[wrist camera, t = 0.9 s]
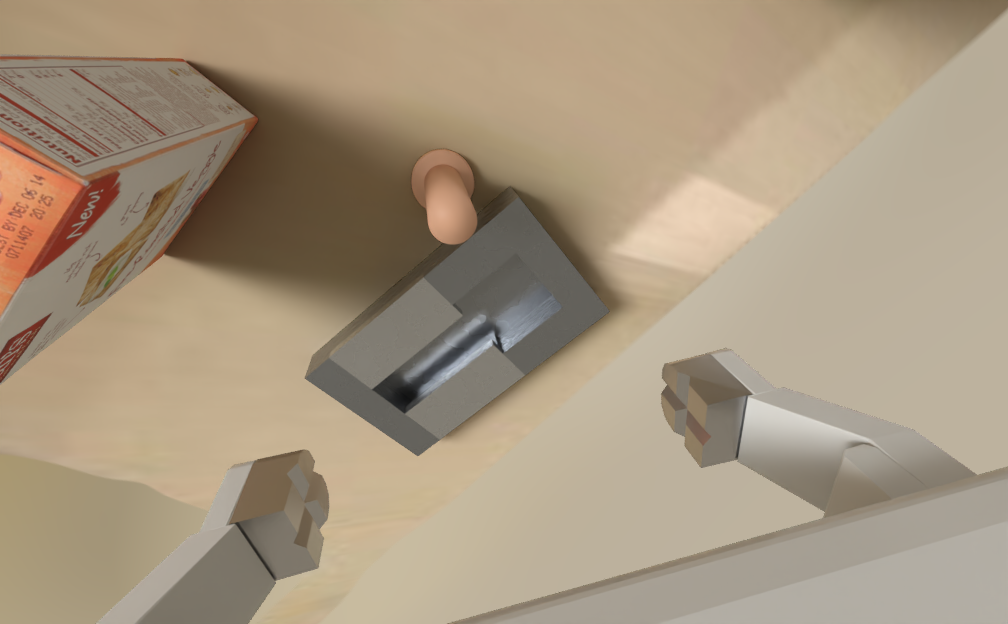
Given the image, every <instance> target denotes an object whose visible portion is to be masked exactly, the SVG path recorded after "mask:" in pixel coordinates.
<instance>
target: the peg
mask: <svg viewBox="0 0 1008 624" xmlns="http://www.w3.org/2000/svg"><path fill="white" fill-rule="evenodd" d="M411 184H412V190H413V193H414V196H415V198H416V199H417V201H418V202H419V203H420V204H421V205H422V206H423V207H424V208H425V209H427V218H428V226H429V229H430V231H431V233H432V234H433V236H434V237H435V238H436V239H438V240H439V241H441V242H443V243H446V244H460V243H462V242H465V241H466V240H468V239H469V238H470V237H471V236H472V235H473V233H474V232H475V230H476V227H477V214H476V211H475V209H474V207H473V204H472V202H471V200H470V199H471V197H472V194H473V191H474V176H473V173H472V170H471V168H470V166H469V165H468V163H467V162H466V160H465V159H464V158H463V157H462V156H460V155H459V154H458V153H456V152H454V151H451V150H447V149H435V150H432V151H429V152H427V153H425V154H424V155H423V156H421V157H420V158H419V159H418V161H417V162H416V164H415V166H414V168H413V171H412V177H411Z"/></svg>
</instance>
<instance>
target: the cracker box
mask: <svg viewBox="0 0 1008 624" xmlns="http://www.w3.org/2000/svg"><path fill="white" fill-rule="evenodd" d="M257 121H258V118H257V117H256V116H254V115H253V114H252V113H250V112H249V111H248V110H247V109H245V108H244V107H243V106H242V105H240V104H239V103H238V102H237V101H235V100H234V99H233V98H231V97H230V96H229V95H228V94H226V93H225V92H224V91H222V90H221V89H220V88H219V87H217V86H216V85H215V84H213V83H212V82H211V81H210V80H208V79H207V78H206V77H204V76H203V75H202V74H201V73H199V72H198V71H197V70H196V69H194V68H193V67H192V66H190V65H189V64H188V63H187V62H186V61H184V60H183V59H175V58H135V57H90V56H52V55H6V54H0V384H2V383H3V382H4V381H5V380H7V379H8V378H9V377H10V376H12V375H13V374H14V373H15V372H16V371H18V370H19V369H20V368H21V367H23V366H24V365H25V364H26V363H28V362H29V361H30V360H31V359H32V358H34V357H35V356H36V355H38V354H39V353H40V352H41V351H43V350H44V349H45V348H47V347H48V346H49V345H50V344H52V343H53V342H54V341H56V340H57V339H58V338H59V337H61V336H62V335H63V334H65V333H66V332H67V331H68V330H70V329H71V328H72V327H73V326H75V325H76V324H77V323H79V322H80V321H81V320H82V319H84V318H85V317H86V316H87V315H89V314H90V313H91V312H92V311H94V310H95V309H96V308H97V307H99V306H100V305H101V304H102V303H104V302H105V301H106V300H107V299H109V298H110V297H111V296H112V295H114V294H115V293H116V292H117V291H119V290H120V289H121V288H122V287H124V286H125V285H126V284H128V283H129V282H130V281H132V280H133V279H134V278H135V277H137V276H138V275H139V274H140V273H142V272H143V271H144V270H145V269H147V268H148V267H149V266H151V265H152V264H153V263H154V262H156V261H157V260H158V259H159V258H160V257H162V256H163V254H164V252H165V251H166V249H167V248H168V247H169V245H170V244H171V242H172V241H173V239H174V238H175V237H176V235H177V234H178V233H179V231H180V230H181V228H182V227H183V226H184V224H185V223H186V221H187V220H188V219H189V217H190V216H191V214H192V213H193V212H194V210H195V209H196V207H197V206H198V204H199V203H200V202H201V200H202V199H203V197H204V196H205V195H206V193H207V192H208V190H209V189H210V188H211V186H212V185H213V183H214V182H215V181H216V179H217V178H218V177H219V175H220V174H221V172H222V171H223V170H224V168H225V167H226V165H227V164H228V163H229V161H230V160H231V158H232V157H233V155H234V154H235V153H236V151H237V150H238V148H239V147H240V146H241V144H242V143H243V141H244V140H245V139H246V137H247V136H248V134H249V133H250V132H251V130H252V129H253V127H254V126H255V124H256V123H257Z"/></svg>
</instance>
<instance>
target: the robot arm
mask: <svg viewBox="0 0 1008 624" xmlns="http://www.w3.org/2000/svg"><path fill="white" fill-rule="evenodd" d="M662 379H663V380H664V381H665V382H666V384H667V386H666V387H665V389H664V390H663V392H662V393H661V400H662V401H661V404H662V408H663V412H664V415H665V418H666V420H667V422H668V424H669V425H670V426H671V428H672V430H673V431H674V432H676V433H678V434H680V435H682V436H684V437H685V447H686V449H687V450H688V451H689V453H690V454H691V455H692V457H693V458H694V459H695V460H696V462H697V463H698V465H699V466H700V467H701V468H703V467H707V466H712V465H716V464H720V463H725V462H729V461H733V460H738V462H739V463H741V464H743V465H745V466H746V467H748V468H750V469H751V470H753V471H755V472H757V473H758V474H760V475H762V476H764V477H765V478H767V479H769V480H770V481H772V482H774V483H776V484H778V485H779V486H781V487H783V488H784V489H786V490H788V491H790V492H791V493H793V494H795V495H796V496H798V497H800V498H802V499H803V500H805V501H807V502H809V503H810V504H812V505H814V506H816V507H817V508H819V509H821V510H823V511H824V512H825V513H824V517H823V518H822V519H819V520H815V521H812V522H808V523H804V524H801V525H798V526H794V527H790V528H786V529H783V530H780V531H776V532H772V533H769V534H765V535H762V536H758V537H754V538H751V539H747V540H744V541H740V542H736V543H733V544H729V545H726V546H722V547H719V548H715V549H712V550H708V551H705V552H701V553H697V554H694V555H691V556H687V557H684V558H680V559H677V560H673V561H669V562H666V563H662V564H658V565H655V566H651V567H648V568H644V569H641V570H637V571H634V572H630V573H627V574H623V575H619V576H616V577H612V578H609V579H605V580H602V581H599V582H595V583H591V584H588V585H584V586H581V587H577V588H573V589H570V590H566V591H562V592H559V593H555V594H552V595H548V596H545V597H541V598H537V599H534V600H530V601H527V602H523V603H519V604H516V605H512V606H509V607H505V608H502V609H498V610H494V611H491V612H487V613H484V614H480V615H476V616H473V617H469V618H466V619H462V620H459V621H455V622H452V623H448V624H1008V467H1005V468H1001V469H997V470H994V471H990V472H986V473H983V474H979V475H977V474H975V473H974V472H972V471H971V470H970V469H968V468H967V467H965V466H964V465H963V464H961V463H960V462H958V461H957V460H956V459H954V458H952V457H951V456H950V455H949V454H947V453H946V452H944V451H943V450H942V449H940V448H939V447H937V446H936V445H934V444H933V443H932V442H930V441H929V440H928V439H926V438H925V437H923V436H922V435H920V434H919V433H917V432H916V431H915V430H913V429H910V428H907V427H904V426H901V425H898V424H895V423H892V422H888V421H886V420H883V419H879V418H876V417H873V416H870V415H867V414H864V413H861V412H858V411H855V410H852V409H849V408H846V407H843V406H839V405H836V404H833V403H830V402H827V401H824V400H821V399H818V398H815V397H812V396H809V395H806V394H803V393H799V392H796V391H793V390H790V389H787V388H784V387H783V388H778V389H777V388H775V387H774V386H773V385H772V384H771V383H770V382H768V381H767V380H766V379H765V378H764V377H762V376H761V375H760V374H759V373H758V372H757V371H756V370H754V369H753V368H752V367H751V366H750V365H749V364H747V363H746V362H745V361H744V360H743V359H742V358H740V357H739V356H738V355H737V354H736V353H734V352H733V351H732V350H730V349H727V348H724V349H720V350H717V351H713V352H709V353H706V354H703V355H699V356H695V357H691V358H687V359H682V360H679V361H674V362H670V363H666V364H665V365H664V367H663V370H662ZM314 463H315V461H314V459H313V457H312V455H311V454H310V452H309V451H308V450H299V451H295V452H290V453H285V454H281V455H276V456H271V457H267V458H262V459H258V460H255V461H250V462H245V463H241V464H236V465H233V466H232V467H231V468H230V469H228V471H227V473H226V475H225V477H224V479H223V481H222V484H221V486H220V488H219V490H218V492H217V494H216V497H215V499H214V501H213V503H212V505H211V507H210V510H209V512H208V514H207V516H206V518H205V521H204V523H203V525H202V527H201V529H200V531H199V533H196V534H192V535H190V536H189V537H188V538H187V539H186V540H185V541H184V542H183V543H182V544H181V545H180V546H178V547H177V548H176V549H175V550H174V551H173V552H172V553H171V554H170V555H169V556H168V557H167V558H166V559H164V560H163V561H162V562H161V563H160V564H159V565H158V566H157V567H156V568H155V569H154V570H153V571H152V572H151V573H149V574H148V575H147V576H146V577H145V578H144V579H143V580H142V581H141V582H140V583H139V584H138V585H137V586H135V587H134V588H133V589H132V590H131V591H130V592H129V593H128V594H127V595H126V596H125V597H124V598H123V599H122V600H120V601H119V602H118V603H117V604H116V605H115V606H114V607H113V608H112V609H111V610H110V611H109V612H108V613H106V614H105V615H104V617H102V618H101V619H100V620H99V621H98V622H97V623H96V624H248V623H249V622H250V620H251V619H252V617H253V616H254V614H255V613H256V612H257V610H258V609H259V607H260V606H261V604H262V603H263V601H264V600H265V598H266V597H267V595H268V594H269V593H270V591H271V590H272V588H273V587H274V585H275V584H276V582H275V581H276V580H280V579H283V578H286V577H290V576H293V575H297V574H300V573H304V572H307V571H311V570H314V569H317V568H318V567H319V562H320V556H321V551H322V546H323V540H324V538H323V536H322V534H321V532H320V530H319V529H320V528H321V527H322V525H323V524H324V523H325V522H326V520H327V518H328V512H329V494H328V490H327V486H326V483H325V481H324V479H323V477H322V475H320V474H318V473H316V472H314V471H313V468H314Z"/></svg>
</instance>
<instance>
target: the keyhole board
mask: <svg viewBox="0 0 1008 624" xmlns="http://www.w3.org/2000/svg"><path fill="white" fill-rule="evenodd" d="M609 312H610V311H609V310H608V309H607V307H606V306H605V305H604V304H603V302H602V301H601V300H600V299H599V297H598V296H597V295H596V294H595V292H594V291H593V290H592V288H591V287H590V286H589V285H588V283H587V282H586V281H585V280H584V278H583V277H582V276H581V275H580V273H579V272H578V271H577V270H576V268H575V267H574V266H573V265H572V263H571V262H570V261H569V259H568V258H567V257H566V256H565V254H564V253H563V252H562V251H561V249H560V248H559V247H558V246H557V244H556V243H555V242H554V241H553V239H552V238H551V237H550V236H549V234H548V233H547V232H546V231H545V229H544V228H543V227H542V225H541V224H540V223H539V222H538V220H537V219H536V218H535V217H534V215H533V214H532V213H531V212H530V210H529V209H528V208H527V207H526V205H525V204H524V203H523V202H522V200H521V199H520V198H519V197H518V195H517V194H516V193H515V192H514V190H513V189H512V188H511V187H508V188H507V189H506V190H505V191H504V192H503V193H501V194H500V195H499V196H498V197H497V198H496V199H494V200H493V201H492V202H491V203H490V204H489V205H487V206H486V207H485V208H484V209H483V210H482V211H480V212H479V213H478V214H477V227H476V230H475V232H474V233H473V235H472V236H471V237H470V238H469V239H468V240H466V241H465V242H462V243H460V244H446V243H443V244H442V245H441V246H440V247H438V248H437V249H436V250H435V251H434V252H433V253H431V254H430V255H429V256H428V257H427V258H426V259H424V260H423V261H422V262H421V263H420V264H419V265H417V266H416V267H415V268H414V269H413V270H412V271H410V272H409V273H408V274H407V275H406V276H405V277H404V278H402V279H401V280H400V281H399V282H398V283H397V284H395V285H394V286H393V287H392V288H391V289H390V290H388V291H387V292H386V293H385V294H384V295H383V296H381V297H380V298H379V299H378V300H377V301H376V302H374V303H373V304H372V305H371V306H370V307H369V308H367V309H366V310H365V311H364V312H363V313H362V314H360V315H359V316H358V317H357V318H356V319H355V320H353V321H352V322H351V323H350V324H349V325H348V326H346V327H345V328H344V329H343V330H342V331H341V332H339V333H338V334H337V335H336V336H335V337H334V338H332V339H331V340H330V341H329V342H328V343H327V344H325V345H324V346H323V347H322V348H321V349H320V350H318V351H317V352H316V353H315V354H314V355H313V356H312V359H311V362H310V365H309V367H308V370H307V373H306V376H305V379H306V380H308V381H309V382H311V383H312V384H314V385H315V386H317V387H318V388H319V389H321V390H322V391H324V392H325V393H327V394H328V395H330V396H331V397H333V398H334V399H335V400H337V401H338V402H340V403H341V404H343V405H344V406H346V407H347V408H349V409H350V410H351V411H353V412H354V413H356V414H357V415H359V416H360V417H362V418H363V419H365V420H366V421H367V422H369V423H370V424H372V425H373V426H375V427H376V428H378V429H379V430H380V431H382V432H383V433H385V434H386V435H388V436H389V437H391V438H392V439H394V440H395V441H396V442H398V443H399V444H401V445H402V446H404V447H405V448H407V449H408V450H410V451H411V452H412V453H414V454H415V455H417V456H419V455H420V454H422V453H423V452H424V451H426V450H427V449H428V448H430V447H431V446H432V445H434V444H435V443H436V442H438V441H439V440H440V439H441V438H443V437H444V436H445V435H447V434H448V433H449V432H451V431H452V430H453V429H455V428H456V427H457V426H459V425H460V424H461V423H463V422H464V421H465V420H467V419H468V418H469V417H471V416H472V415H473V414H475V413H476V412H477V411H479V410H480V409H481V408H483V407H484V406H485V405H487V404H488V403H489V402H491V401H492V400H493V399H495V398H496V397H497V396H498V395H500V394H501V393H502V392H504V391H505V390H506V389H508V388H509V387H510V386H512V385H513V384H514V383H516V382H517V381H518V380H520V379H521V378H522V377H524V376H525V375H526V374H528V373H529V372H530V371H532V370H533V369H534V368H536V367H537V366H538V365H540V364H541V363H542V362H544V361H545V360H546V359H548V358H549V357H550V356H552V355H553V354H554V353H555V352H557V351H558V350H559V349H561V348H562V347H563V346H565V345H566V344H567V343H569V342H570V341H571V340H573V339H574V338H575V337H577V336H578V335H579V334H581V333H582V332H583V331H585V330H586V329H587V328H589V327H590V326H591V325H593V324H594V323H595V322H597V321H598V320H599V319H601V318H602V317H603V316H605V315H606V314H607V313H609Z"/></svg>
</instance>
